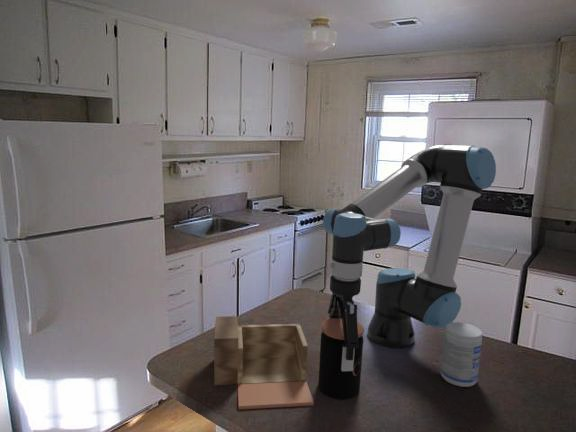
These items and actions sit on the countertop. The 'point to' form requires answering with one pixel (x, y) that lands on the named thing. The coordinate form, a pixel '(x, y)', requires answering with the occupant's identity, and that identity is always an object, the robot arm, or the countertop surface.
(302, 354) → the box
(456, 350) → the supplement tub
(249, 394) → the panel
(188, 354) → the countertop surface
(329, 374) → the coffee jar
